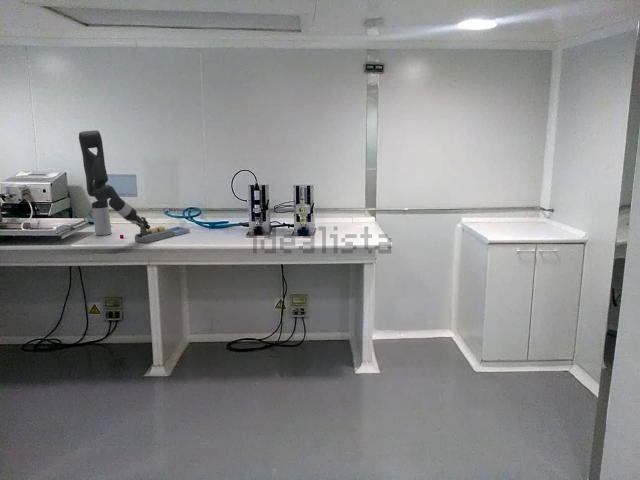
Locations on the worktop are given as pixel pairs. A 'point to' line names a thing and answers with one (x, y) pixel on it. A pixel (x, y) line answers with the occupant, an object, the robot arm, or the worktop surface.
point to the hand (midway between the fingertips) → (145, 227)
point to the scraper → (143, 230)
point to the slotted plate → (154, 236)
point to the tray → (179, 230)
